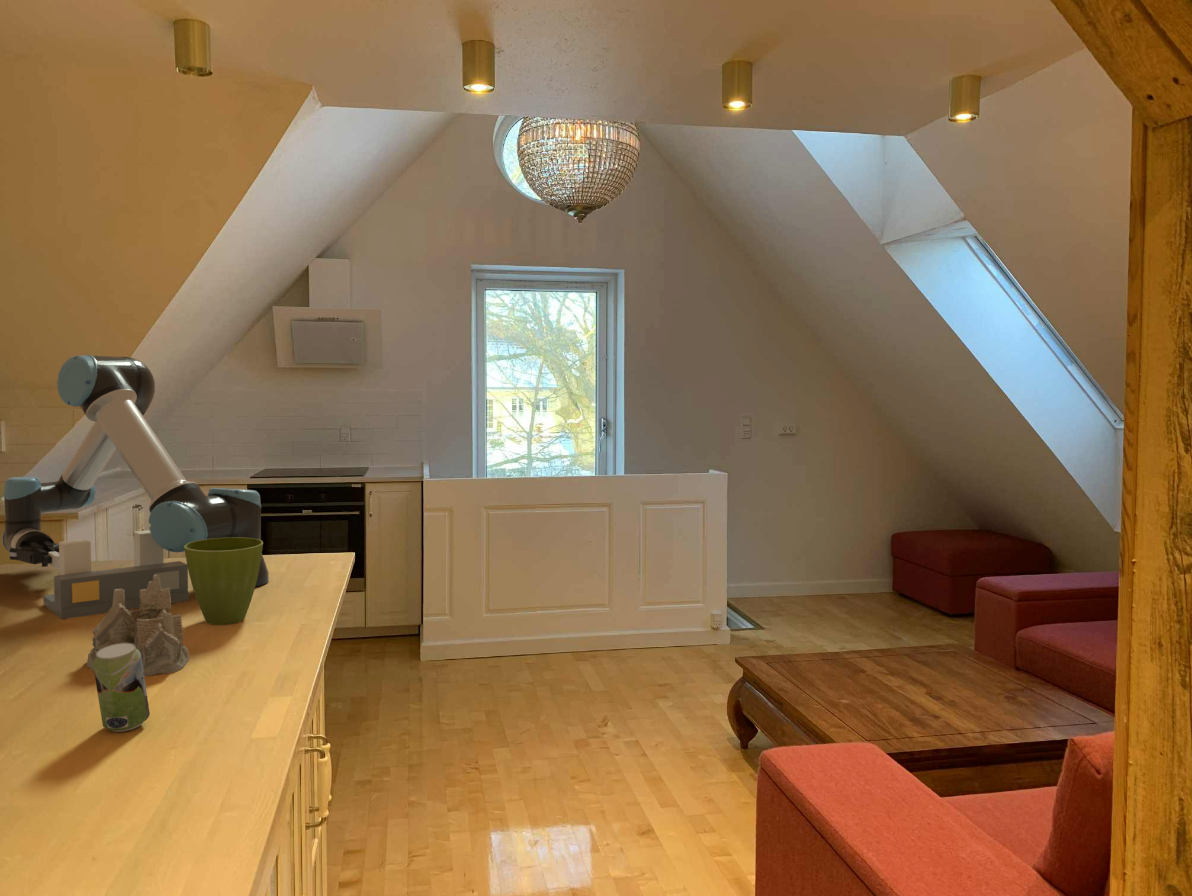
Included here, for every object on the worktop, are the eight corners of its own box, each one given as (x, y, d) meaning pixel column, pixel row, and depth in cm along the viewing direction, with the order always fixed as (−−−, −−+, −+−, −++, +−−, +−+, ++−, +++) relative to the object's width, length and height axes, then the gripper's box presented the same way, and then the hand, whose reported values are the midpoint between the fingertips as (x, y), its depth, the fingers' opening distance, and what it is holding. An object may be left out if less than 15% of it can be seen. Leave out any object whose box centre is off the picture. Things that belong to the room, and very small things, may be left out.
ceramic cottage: (90, 654, 161) (92, 572, 159) (191, 649, 167) (193, 570, 165) (76, 687, 146) (78, 598, 145) (187, 681, 153) (189, 595, 151)
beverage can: (158, 719, 131) (157, 639, 130) (127, 739, 124) (125, 654, 123) (118, 717, 132) (116, 637, 131) (84, 736, 125) (82, 652, 124)
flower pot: (235, 633, 176) (235, 552, 175) (168, 627, 179) (167, 548, 178) (277, 614, 191) (277, 539, 189) (214, 609, 194) (214, 535, 192)
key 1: (60, 597, 191) (58, 541, 190) (86, 594, 195) (85, 539, 194) (65, 601, 188) (63, 544, 187) (91, 597, 192) (90, 542, 191)
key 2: (134, 583, 205) (133, 531, 204) (157, 580, 209) (157, 529, 208) (140, 586, 202) (139, 534, 202) (163, 583, 206) (163, 531, 205)
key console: (43, 604, 194) (42, 568, 193) (165, 588, 211) (165, 554, 210) (61, 619, 183) (61, 580, 182) (188, 600, 200) (188, 565, 200)
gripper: (64, 558, 220) (92, 574, 204) (1, 565, 211) (26, 582, 195) (63, 528, 220) (92, 542, 203) (0, 533, 211) (25, 548, 194)
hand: (59, 562), depth 199 cm, fingers closed
